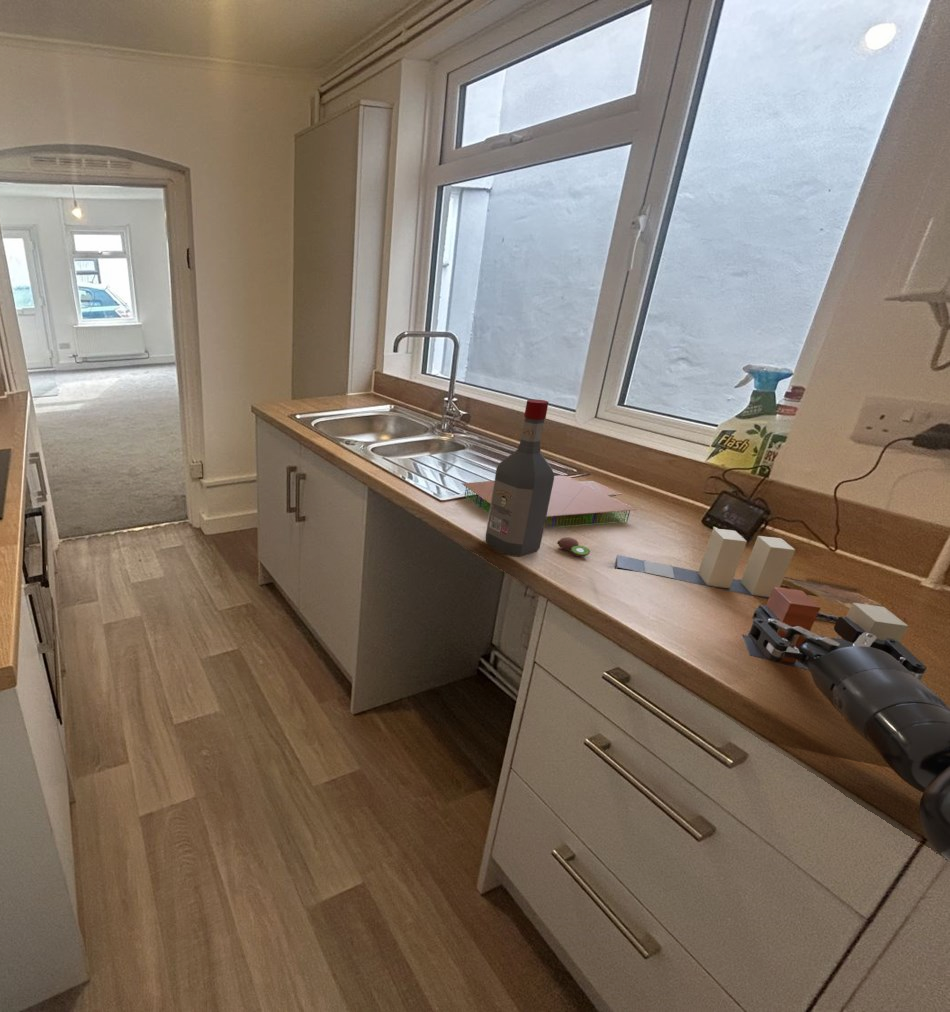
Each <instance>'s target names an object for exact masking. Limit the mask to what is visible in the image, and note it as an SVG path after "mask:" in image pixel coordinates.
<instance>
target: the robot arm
mask: <svg viewBox="0 0 950 1012" xmlns="http://www.w3.org/2000/svg"><path fill="white" fill-rule="evenodd" d="M838 617H839V618H838V620H837V622H836V623H835V624H834V626H833V631H834V632H835V633H836V634H837V635H838V634H839V635H840V636H841V637H842V638H843V639H838V638H836V637H828V636H824V635H820V634H817V633H815V632H813V631H811V630H810V631H808V630H806V629H804V628H802V627H800V626H794V627H791V626H789V625H787V624H785V623H783V622H781V621H779V618H778V617H777V616H776V615H775V614H774V613H773V612H772V611H771V610H770V609H769V608H768V607H767V606H766V605H763V604H762V605H761V604H758V606H757V607H755V609H754V612H753V614H752V617H751V618H752V620H753V621H752V624H751V625H750V626H751V627H750V629H749V631H748V633H747V636H749V637H750V638H751V639H752V641H753V642H754V643H755V644H756V645H757V646H758V647H759V648H760V649H761V651H762V652H763V653H764V654H765V655H766V656H767V657H768V658H769V659H770V660H771V662H774V663H776V664H777V663H778V664H782V663H781V662H782V659H783V658H790V659H796V660H797V661H798V662H799V663H801V664H803V665H804V666H806V667H807V668H809V670H810V671H809V670H808V671H809V672H810V674H811V677H812V680H813V683H814V684H815V686H816V688H817V689H818V690H819V691H820V692H821V693H822V694H823V696H824V697H825V698H826V699H827V700H828V701H829V702H830V704H831V705H832V706H833V708H835V709H836V711H838V713H839V714H840V715H841V716H842V717H843V719H844V720H845V721H846V722H847V724H848V725H849V726H851V727H852V728H853V730H854V731H855V732H856V733H857V734H858V735H860V736H861V737H862V738H863V739H865V741H866V742H868V743H869V745H871V747H872V748H873V750H875V751H876V753H877V754H878V755H879V756H880V757H881V758H882V759H883V760H884V762H886V764H887V765H888V767H890V768H891V770H892V771H893V772H894V773H895V774H896V775H897V776H898V777H899V778H901V780H903V781H904V782H905V783H907V784H908V785H909V786H911V787H912V788H914V789H915V790H917V791H918V792H921V793H922V795H921V797H920V800H919V806H918V818H919V823H920V828H921V830H922V832H923V834H924V836H925V838H926V840H927V841H928V843H929V844H930V846H932V848H933V849H934V850H935V851H936V852H937V853H938V854H939V855H941V856H942V857H943V858H944V859H946V860H947V861H949V862H950V707H949V706H948V705H947V704H946V703H945V702H944V700H943V699H942V698H941V697H940V696H939V695H937V694H936V693H935V692H934V691H933V690H932V689H931V688H929V686H927V685H926V684H925V683H924V682H923V681H922V680H921V679H922V677H923V675H924V674H925V672H926V670H927V669H928V668H927V666H926V665H925V664H924V663H923V662H922V661H921V660H919V659H918V658H917V657H916V656H915V655H914V654H913V653H912V652H911V651H909V649H907V648H906V647H905V646H904V645H903V644H902V643H901V641H900V642H898V641H897V640H894V639H891V638H886V639H885V640H880V639H877V636H875V635H874V634H871V633H868V632H865V631H864V630H863V629H862V628H861V627H860V626H859V625H857V624H856V623H854V622H852V621H851V620H850V619H849V618H847V617H846V616H838ZM779 629H780V630H782V631H784V632H785V633H786V636H785V638H782V637H780V636H779V635H778V634H777V632H778V630H779ZM799 635H800V636H802V637H804V638H806V639H805V640H804V641H803V643H802V644H801V645H800V646H799V648H797V647H796V645H795V644H796V642H797V640H798V638H799ZM819 635H820V636H819ZM770 660H769V661H770Z"/></svg>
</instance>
